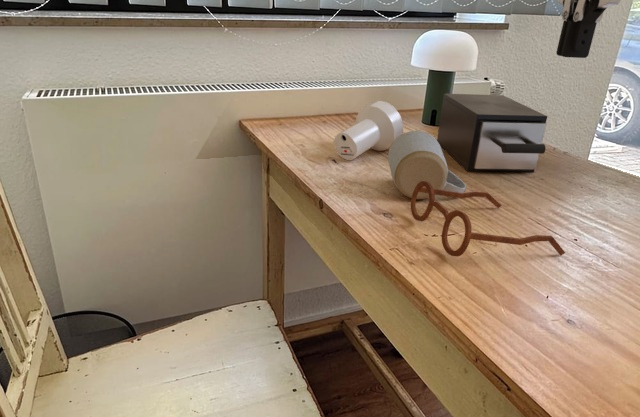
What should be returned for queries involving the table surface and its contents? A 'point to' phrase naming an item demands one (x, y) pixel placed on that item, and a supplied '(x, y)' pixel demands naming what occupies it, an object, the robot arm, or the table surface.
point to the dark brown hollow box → (477, 123)
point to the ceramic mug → (420, 165)
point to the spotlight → (370, 131)
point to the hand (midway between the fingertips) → (571, 56)
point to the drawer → (509, 144)
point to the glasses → (467, 220)
